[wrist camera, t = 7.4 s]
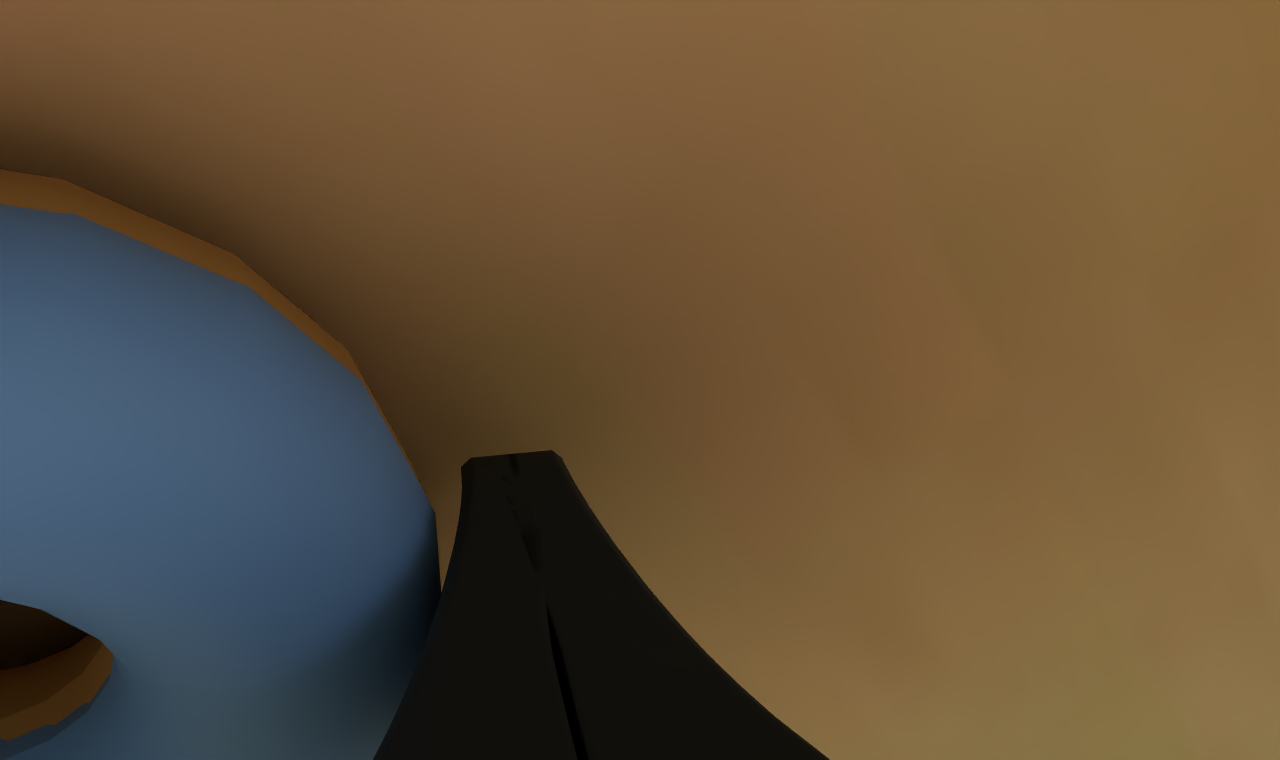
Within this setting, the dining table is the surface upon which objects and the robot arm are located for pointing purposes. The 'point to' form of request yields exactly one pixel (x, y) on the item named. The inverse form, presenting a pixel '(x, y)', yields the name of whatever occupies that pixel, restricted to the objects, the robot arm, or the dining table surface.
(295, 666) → the doughnut
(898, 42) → the dining table surface
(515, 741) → the robot arm
